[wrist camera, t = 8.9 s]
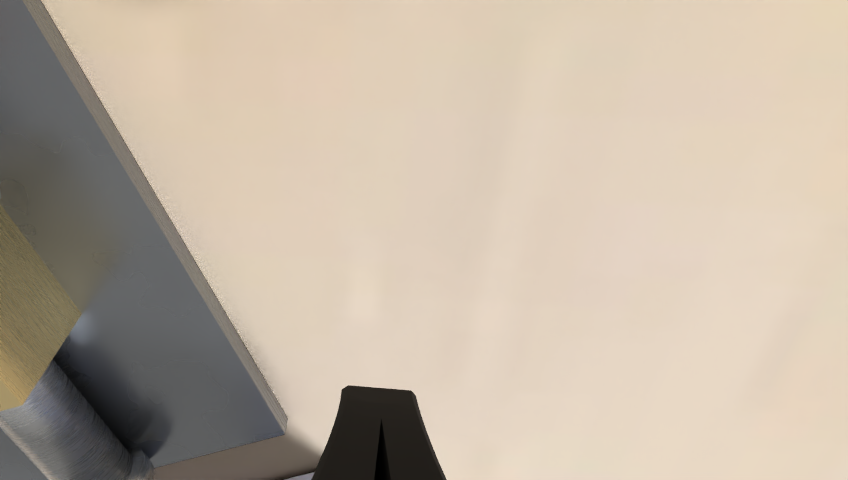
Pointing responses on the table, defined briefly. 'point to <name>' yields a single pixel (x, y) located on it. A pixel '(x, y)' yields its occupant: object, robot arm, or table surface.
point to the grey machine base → (101, 292)
